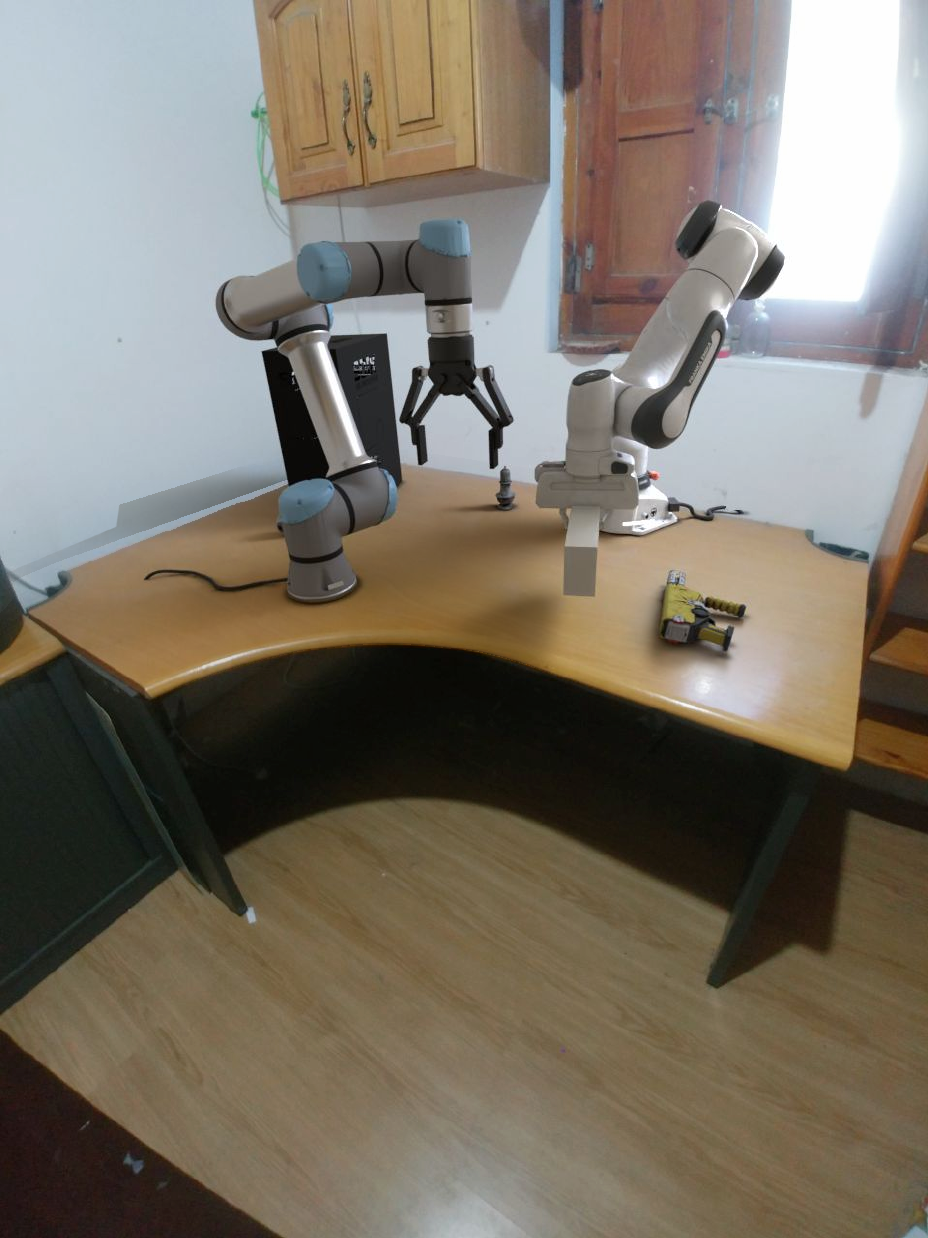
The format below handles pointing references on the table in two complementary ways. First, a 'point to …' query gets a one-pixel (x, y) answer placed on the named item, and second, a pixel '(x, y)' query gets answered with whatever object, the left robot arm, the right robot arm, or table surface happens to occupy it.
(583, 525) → the bar
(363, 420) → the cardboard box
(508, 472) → the grey chess piece
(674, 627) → the toy gun
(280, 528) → the eyeball
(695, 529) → the table surface
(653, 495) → the right robot arm
